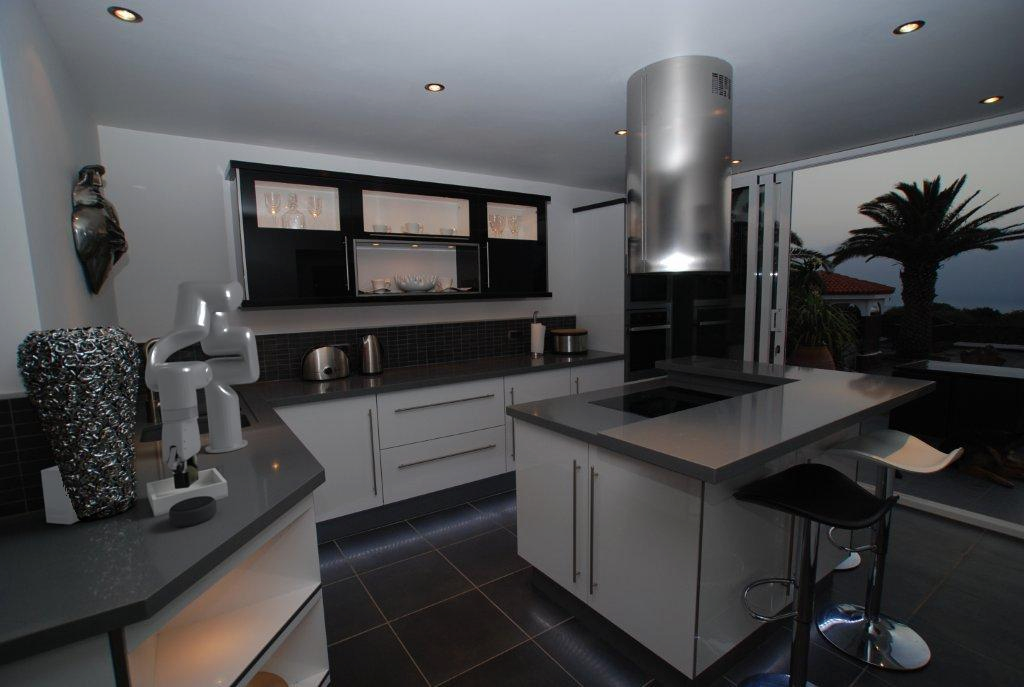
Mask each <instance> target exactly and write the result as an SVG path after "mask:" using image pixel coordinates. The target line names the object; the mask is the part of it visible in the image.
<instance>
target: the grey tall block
mask: <svg viewBox="0 0 1024 687" xmlns="http://www.w3.org/2000/svg"><path fill="white" fill-rule="evenodd" d="M40 473H41V475H40V476H41V483H42V491H43V500H44V508H45V518H46V520H45V521H46V523H49V524H59V525H72V524H75V523H77V522H79V521H80V520H79V519H78V518H77V515H76V512H75V510H74V508H73V506H72V503H71V499H70V498H69V494H67V493H68V492H67V488H66V491H65V485H64V487H63V481H62V477H61V473H60V471H59V468H58V465H55V466H52V467H48V468H45V469H42V470H40ZM66 495H67V496H66Z"/></svg>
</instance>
